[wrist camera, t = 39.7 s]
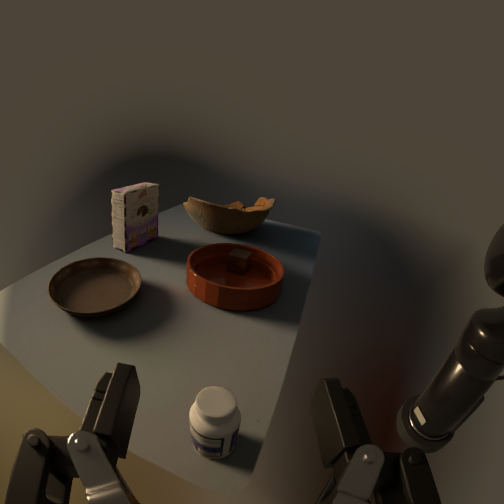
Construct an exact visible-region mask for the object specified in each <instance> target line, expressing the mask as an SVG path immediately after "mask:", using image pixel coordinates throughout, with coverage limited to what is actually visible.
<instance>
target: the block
mask: <svg viewBox="0 0 504 504" xmlns="http://www.w3.org/2000/svg"><path fill="white" fill-rule="evenodd" d="M251 259H252V252H249V251H246V250H242V249H238V248H235V249H234V250H232V251H231V252H230V253H229V254H228V262H227V271H228V272H232V273H235V274H239V275H242V276H244V275H245V274H246V273H247V272H248V270H249V269H250V266H251Z"/></svg>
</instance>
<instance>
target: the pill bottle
mask: <svg viewBox="0 0 504 504" xmlns="http://www.w3.org/2000/svg"><path fill="white" fill-rule="evenodd" d="M236 405H237V402H236V398H235V396H234V395H233V394H232V393H231V392H230V391H229V390H227V389H225V388H222V387H218V386H212V387H207V388H205V389H203V390H201V391H200V392H199V393H198V395H197V397H196V402H195V403H194V404H193V405H192V407H191V409H190V414H189V419H190V431H191V441H192V445H193V447H194V449H195V450H196V451H197V452H198V453H199V454H200V455H202V456H204V457H206V458H210V459H219V458H223V457H225V456H227V455H229V454H230V453H231V452H232V451H233V449H234V447H235V444H236V440H237V436H238V431H239V426H240V421H241V415H240V411H239V409H238V407H237V406H236Z"/></svg>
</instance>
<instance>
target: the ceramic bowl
mask: <svg viewBox="0 0 504 504" xmlns="http://www.w3.org/2000/svg"><path fill="white" fill-rule="evenodd" d="M275 203H276V201H275V199H267V198H264V197H261V198H259V200H258V201H257V202H256V203H255V205H254V207H248V208H245V206H244V205H243V204H242V203H241V202H240V201H237V202H235V203H233V204H230V206H229V205H217V204H213V203H209V202H205V201H203V200H200V199H196V198H193V197H189V199H188V202H187V203H186V202H184V203H183V205H184V207H185V209H186V211H187V213H188V214H189V216H190V217H191V218H192V220H193V221H195V222H196V223H197V224H198V225H200V226H201V227H203V228H204V229H207V230H210V231H213V232H216V233H221V234H240V233H246V232H248V231H250V230H252V229H254V228H256V227H257V226H258V225H260V224H261V223H262V222H263V221H264V220H265V218H266V217H267V215H268V213H269V210H270V209H272V208H273V207H274V204H275Z"/></svg>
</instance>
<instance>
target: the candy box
mask: <svg viewBox="0 0 504 504" xmlns="http://www.w3.org/2000/svg"><path fill="white" fill-rule="evenodd" d="M158 198H159V184H153V183H148V182H144V183H140V184H136V185H131V186H128V187H123V188H119V189H115V190H112V191H111V199H112V200H111V204H112V205H111V208H112V236H113V247H114V248H116V249H118V250H120V251H123V252H125V253H126V252H129V251H131V250H133V249H135V248H137V247H139V246H141V245H143V244H145V243H147V242H149V241H151V240H153V239H155V238H157V237H158Z"/></svg>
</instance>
